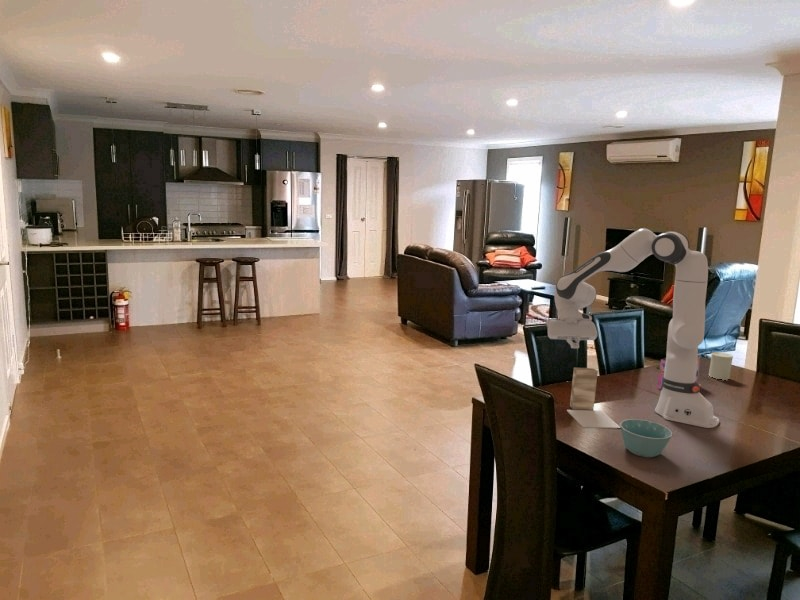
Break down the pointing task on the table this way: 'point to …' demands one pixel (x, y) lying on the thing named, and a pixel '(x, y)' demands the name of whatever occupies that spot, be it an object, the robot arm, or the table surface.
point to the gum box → (662, 369)
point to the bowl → (644, 437)
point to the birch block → (583, 388)
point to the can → (720, 365)
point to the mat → (592, 419)
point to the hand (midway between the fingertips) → (575, 347)
